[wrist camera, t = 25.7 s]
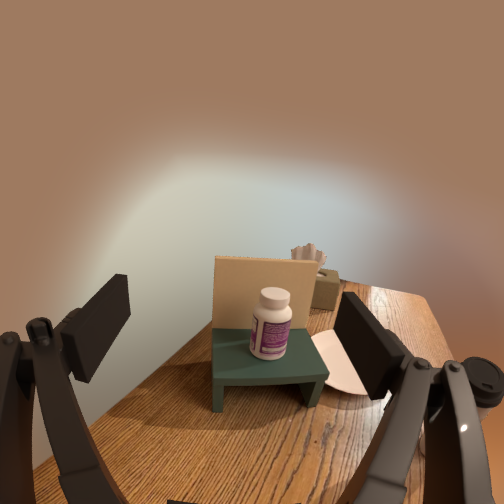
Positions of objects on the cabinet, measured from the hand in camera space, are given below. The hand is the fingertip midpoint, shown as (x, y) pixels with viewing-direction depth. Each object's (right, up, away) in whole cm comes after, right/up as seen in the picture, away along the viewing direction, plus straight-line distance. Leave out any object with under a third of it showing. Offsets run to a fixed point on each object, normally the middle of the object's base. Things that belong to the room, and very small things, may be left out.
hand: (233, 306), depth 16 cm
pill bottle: (+3, -12, +23) cm, 26 cm away
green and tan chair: (+2, -19, +25) cm, 32 cm away
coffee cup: (+29, -26, +10) cm, 40 cm away
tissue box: (+15, -10, +60) cm, 62 cm away
